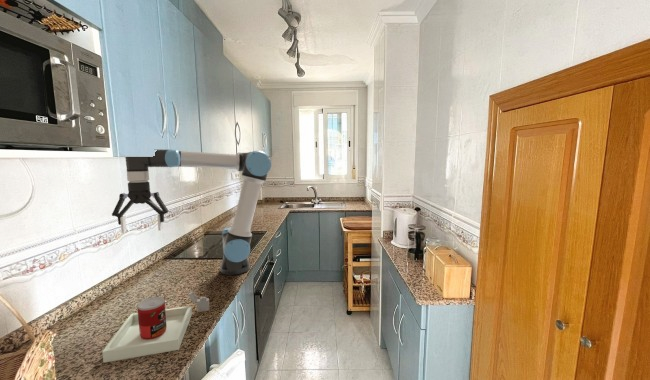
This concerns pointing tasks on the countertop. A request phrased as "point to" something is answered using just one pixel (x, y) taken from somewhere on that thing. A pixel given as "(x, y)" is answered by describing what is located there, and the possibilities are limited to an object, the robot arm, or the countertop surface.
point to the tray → (133, 345)
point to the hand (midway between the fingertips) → (142, 230)
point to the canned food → (152, 317)
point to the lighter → (200, 302)
